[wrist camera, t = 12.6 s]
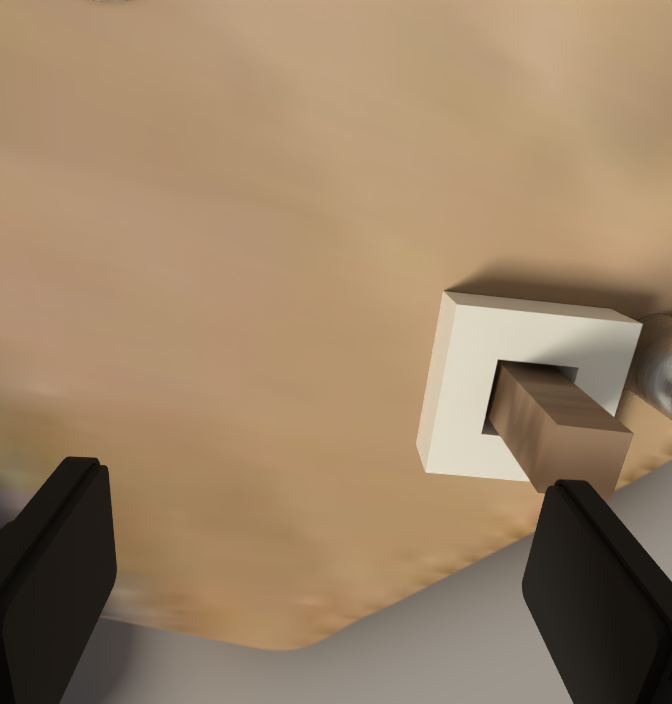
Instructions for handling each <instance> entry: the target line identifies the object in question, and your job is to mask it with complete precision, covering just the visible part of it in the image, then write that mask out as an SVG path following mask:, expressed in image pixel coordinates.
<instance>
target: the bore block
mask: <svg viewBox="0 0 672 704" xmlns="http://www.w3.org/2000/svg"><path fill="white" fill-rule="evenodd" d="M642 325H643V324H642V323H640V322H638V321H635V320H633V319H631V318H629V317H627V316H625V315H623V314H620V313H618V312H616V311H614V310H612V309H608V308H598V307H589V306H579V305H570V304H561V303H551V302H542V301H532V300H523V299H513V298H504V297H495V296H485V295H476V294H466V293H457V292H447V291H443V295H442V301H441V307H440V312H439V318H438V323H437V329H436V335H435V340H434V346H433V352H432V357H431V363H430V368H429V374H428V380H427V385H426V391H425V397H424V402H423V408H422V413H421V419H420V425H419V430H418V436H417V441H416V446H417V449H418V452H419V455H420V458H421V461H422V464H423V467H424V470H425V472H427V473H439V474H450V475H462V476H473V477H484V478H496V479H507V480H519V481H530V480H529V479H528V477H527V476H526V474H525V473H524V471H523V470H522V468H521V467H520V465H519V464H518V462H517V461H516V459H515V458H514V456H513V455H512V453H511V452H510V450H509V449H508V447H507V446H506V444H505V443H504V441H503V440H502V438H501V437H500V435H499V434H498V432H497V431H496V429H495V428H494V426H493V425H492V423H491V422H490V420H489V419H488V417H487V416H486V411H487V406H488V402H489V397H490V392H491V388H492V383H493V379H494V374H495V370H496V365H497V361H498V359H499V360H509V361H519V362H529V363H539V364H549V365H553V366H554V367H555V368H556V369H557V370H558V371H560V372H561V373H562V374H563V375H564V376H566V377H567V378H568V379H569V380H570V381H572V382H573V383H574V384H575V385H576V386H578V387H579V388H580V389H581V390H582V391H584V392H585V393H586V394H587V395H588V396H590V397H591V398H592V399H593V400H594V401H596V402H597V403H598V404H599V405H600V406H602V407H603V408H604V409H605V410H606V411H608V412H609V413H610V414H611V415H612V416H615V413H616V410H617V406H618V403H619V400H620V397H621V393H622V390H623V387H624V384H625V380H626V377H627V374H628V371H629V367H630V364H631V361H632V357H633V354H634V351H635V348H636V344H637V341H638V338H639V335H640V331H641V328H642Z"/></svg>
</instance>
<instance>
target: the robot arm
mask: <svg viewBox="0 0 672 704" xmlns="http://www.w3.org/2000/svg"><path fill="white" fill-rule="evenodd" d="M95 1H100V2H117V1H126V0H95ZM116 573H117V564H116V552H115V541H114V529H113V518H112V506H111V495H110V483H109V472H108V468H107V466H106V465H100V462H99V460H98V459H97V458H91V457H70V456H69V457H66V458H65V459H64V460H63V461H62V462H61V463H60V465H59V466H58V467H57V468H56V470H55V471H54V472H53V473H52V474H51V476H50V477H49V478H48V479H47V481H46V482H45V483H44V484H43V485H42V487H41V488H40V489H39V490H38V492H37V493H36V494H35V495H34V497H33V498H32V499H31V500H30V501H29V503H28V504H27V505H26V506H25V508H24V509H23V510H22V511H21V512H20V514H19V515H18V516H17V517H16V519H15V520H14V521H11V522H8V523H7V524H6V525H5V526H4V527H3V528H2V529H1V530H0V704H59V703H60V701H61V699H62V696H63V694H64V692H65V690H66V688H67V686H68V683H69V681H70V679H71V677H72V675H73V673H74V670H75V668H76V666H77V664H78V662H79V660H80V657H81V655H82V653H83V651H84V649H85V647H86V645H87V642H88V640H89V638H90V636H91V634H92V632H93V629H94V627H95V625H96V623H97V621H98V618H99V616H100V614H101V612H102V610H103V608H104V606H105V603H106V601H107V599H108V597H109V595H110V593H111V591H112V588H113V586H114V583H115V579H116ZM522 592H523V597H524V599H525V602H526V604H527V606H528V608H529V610H530V612H531V614H532V617H533V619H534V621H535V623H536V625H537V627H538V629H539V631H540V633H541V636H542V638H543V640H544V642H545V644H546V646H547V648H548V650H549V652H550V655H551V657H552V659H553V661H554V663H555V665H556V667H557V669H558V671H559V674H560V676H561V678H562V680H563V682H564V684H565V687H566V689H567V690H568V693H569V695H570V697H571V699H572V701H573V703H574V704H672V582H671V580H670V579H669V578H668V577H667V576H666V574H665V573H664V572H663V571H662V570H661V569H660V567H659V566H658V565H657V564H656V562H655V561H654V560H653V559H652V558H651V557H650V555H649V554H648V553H647V552H646V550H645V549H644V548H643V547H642V546H641V544H640V543H639V542H638V541H637V540H636V538H635V537H634V536H633V535H632V534H631V533H630V531H629V530H628V529H627V528H626V526H625V525H624V524H623V523H622V522H621V520H620V519H619V518H618V517H617V516H616V514H615V513H614V512H613V511H612V510H611V508H610V507H609V506H608V505H607V504H606V502H605V501H604V500H603V499H602V498H601V496H600V495H599V494H598V493H597V492H596V490H595V489H594V488H593V487H592V486H591V484H590V483H588V482H587V481H585V480H569V479H559V480H557V481H556V482H555V483H554V486H553V485H551V486H549V487H548V488H547V490H546V493H545V497H544V501H543V504H542V508H541V512H540V516H539V520H538V523H537V527H536V531H535V535H534V539H533V542H532V547H531V550H530V554H529V558H528V562H527V565H526V569H525V573H524V577H523V581H522Z"/></svg>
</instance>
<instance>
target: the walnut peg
mask: <svg viewBox="0 0 672 704" xmlns="http://www.w3.org/2000/svg"><path fill="white" fill-rule="evenodd" d="M486 416H487V417H488V419H489V420H490V422H491V423H492V425H493V426H494V428H495V429H496V431H497V432H498V434H499V435H500V437H501V438H502V440H503V441H504V443H505V444H506V446H507V447H508V449H509V450H510V452H511V453H512V455H513V456H514V458H515V459H516V461H517V462H518V464H519V465H520V467H521V468H522V470H523V471H524V473H525V474H526V476H527V477H528V479H529V480H530V482H531V483H532V485H533V486H534V488H535V489H536V490H537V492H538V493H546V490H547V488H548V487H549V486H551V485H553V486H554V483H555V482H556V481H557V480H559V479H569V480H585V481H587V482H588V483H590V484H591V486H592V487H593V488H594V489H595V490H596V492H597V493H598V494H599V495H600V496H601V498H602V499H603V500H611V498H612V495H613V492H614V489H615V486H616V483H617V481H618V478H619V475H620V472H621V469H622V466H623V463H624V460H625V457H626V455H627V452H628V449H629V446H630V443H631V440H632V437H633V434H634V433H633V432H631V431H630V430H629V429H628V428H627V427H625V426H624V425H623V424H622V423H621V422H619V421H618V420H617V419H616V418H615V417H614V416H612V415H611V414H610V413H609V412H608V411H606V410H605V409H604V408H603V407H602V406H600V405H599V404H598V403H597V402H596V401H594V400H593V399H592V398H591V397H590V396H588V395H587V394H586V393H585V392H584V391H582V390H581V389H580V388H579V387H578V386H576V385H575V384H574V383H573V382H572V381H570V380H569V379H568V378H567V377H566V376H564V375H563V374H562V373H561V372H560V371H558V370H557V369H556V368H555V367H554V366H553V365H549V364H539V363H529V362H519V361H509V360H499V359H498V361H497V365H496V370H495V374H494V379H493V383H492V388H491V392H490V397H489V402H488V406H487V411H486Z"/></svg>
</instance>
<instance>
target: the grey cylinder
mask: <svg viewBox="0 0 672 704" xmlns="http://www.w3.org/2000/svg"><path fill="white" fill-rule="evenodd" d="M637 321H638V322H640V323H642V324H643V325H642V328H641V331H640V335H639V338H638V341H637V344H636V348H635V351H634V354H633V357H632V361H631V364H630V367H629V371H628V374H627V377H626V380H625V384H624V387H625V388H627V389H628V390H630V391H631V392H632V393H634V394H635V395H637V396H638V397H639V398H641V399H642V400H644V401H645V402H646V403H648V404H649V405H651V406H652V407H654V408H655V409H656V410H658V411H659V412H661V413H662V414H663V415H665V416H666V417H668V418H669V419H671V420H672V316H670V315H665V314H656V315H650V316H646V317H643V318H641V319H639V320H637Z"/></svg>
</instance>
